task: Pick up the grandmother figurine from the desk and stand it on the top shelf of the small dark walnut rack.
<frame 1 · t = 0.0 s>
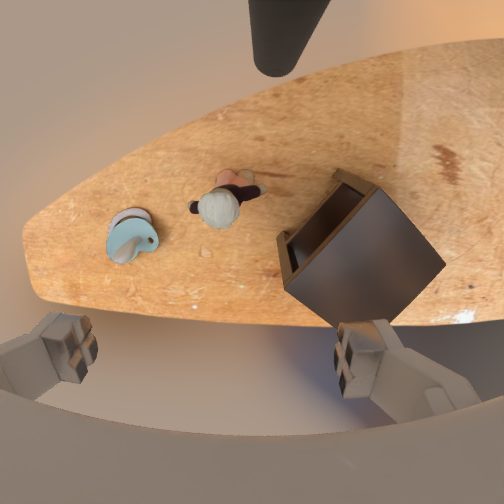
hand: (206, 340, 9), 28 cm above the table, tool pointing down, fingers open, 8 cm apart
rack: (337, 230, 37), on the table
grandmother figurine: (230, 184, 35), on the table
pacifier: (134, 230, 37), on the table
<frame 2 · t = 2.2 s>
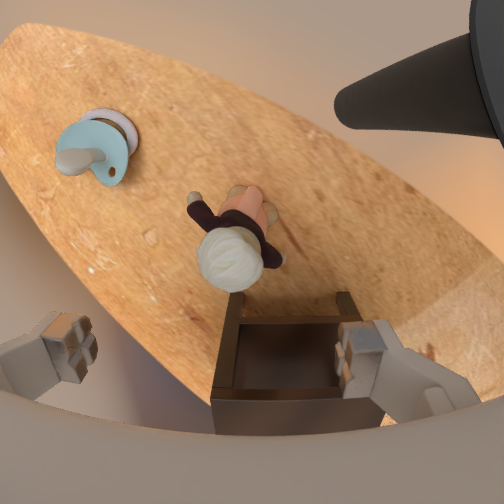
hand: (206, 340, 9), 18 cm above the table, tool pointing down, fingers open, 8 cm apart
rack: (288, 336, 30), on the table
grandmother figurine: (245, 204, 26), on the table
pacifier: (106, 142, 24), on the table
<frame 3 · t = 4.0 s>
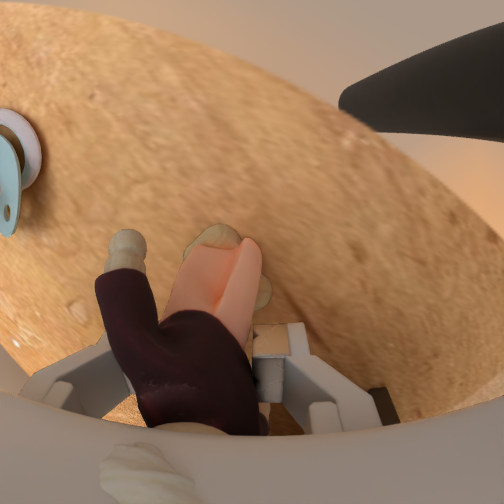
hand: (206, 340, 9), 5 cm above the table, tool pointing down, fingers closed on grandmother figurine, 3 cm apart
rack: (293, 440, 19), on the table
grandmother figurine: (222, 260, 14), on the table, touching gripper
pacifier: (6, 162, 13), on the table
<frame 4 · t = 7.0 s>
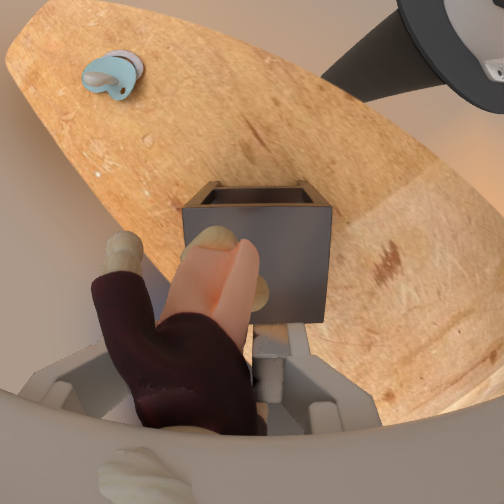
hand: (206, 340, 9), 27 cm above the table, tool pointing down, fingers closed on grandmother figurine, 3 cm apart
rack: (258, 223, 36), on the table
grandmother figurine: (219, 262, 14), point 22 cm above the table, touching gripper
pacifier: (119, 74, 30), on the table
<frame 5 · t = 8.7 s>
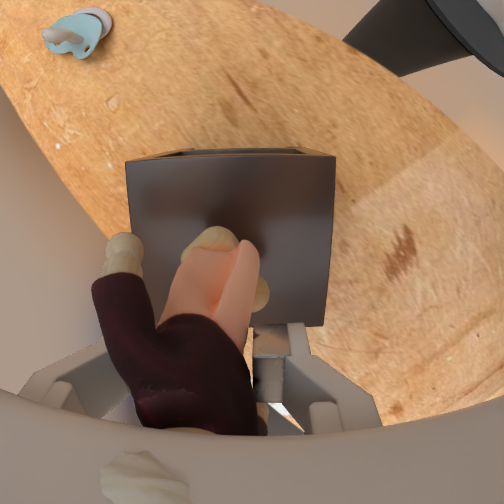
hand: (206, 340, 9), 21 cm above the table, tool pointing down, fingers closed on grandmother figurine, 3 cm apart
rack: (242, 200, 29), on the table
grandmother figurine: (219, 262, 14), point 16 cm above the table, touching gripper
pacifier: (86, 33, 23), on the table
when the fingers open (18 cm above the table, at t = 9.8 s): grandmother figurine stays where it is, resting on rack.
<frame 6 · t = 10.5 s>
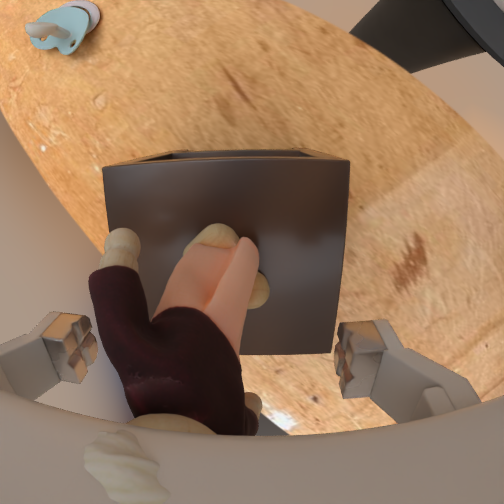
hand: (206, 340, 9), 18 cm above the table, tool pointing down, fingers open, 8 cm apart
rack: (240, 206, 27), on the table
grandmother figurine: (221, 259, 14), point 13 cm above the table, touching rack
pacifier: (73, 27, 20), on the table
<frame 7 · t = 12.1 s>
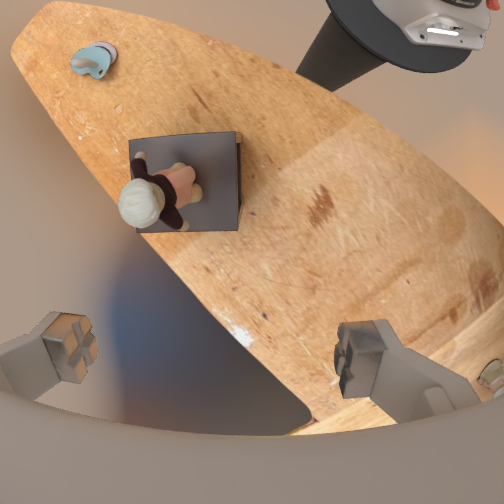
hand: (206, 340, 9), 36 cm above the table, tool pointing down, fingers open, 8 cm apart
rack: (203, 170, 43), on the table
grandmother figurine: (180, 179, 31), point 13 cm above the table, touching rack
figurine: (488, 372, 57), on the table
pacifier: (99, 60, 37), on the table
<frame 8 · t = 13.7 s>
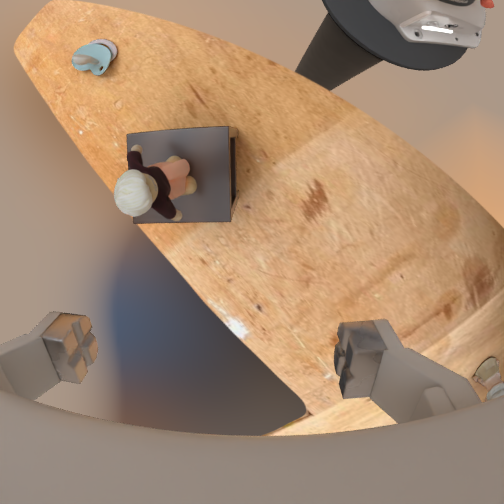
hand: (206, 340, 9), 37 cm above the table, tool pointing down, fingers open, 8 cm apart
rack: (200, 164, 44), on the table
grandmother figurine: (176, 172, 31), point 13 cm above the table, touching rack
figurine: (483, 370, 58), on the table
pacifier: (100, 57, 37), on the table
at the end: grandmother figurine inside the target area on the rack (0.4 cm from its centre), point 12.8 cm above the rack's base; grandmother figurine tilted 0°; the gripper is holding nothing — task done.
